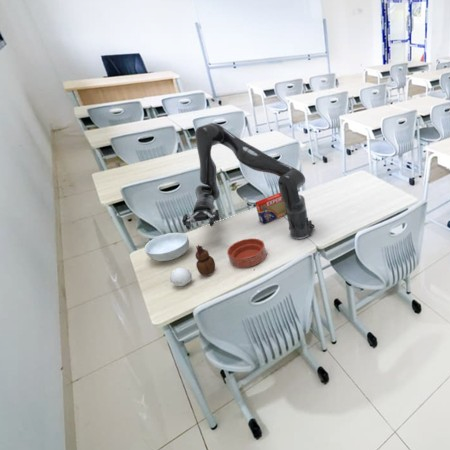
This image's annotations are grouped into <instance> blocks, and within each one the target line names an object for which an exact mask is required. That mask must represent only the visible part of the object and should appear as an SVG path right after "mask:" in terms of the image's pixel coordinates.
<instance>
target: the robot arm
mask: <svg viewBox="0 0 450 450" xmlns="http://www.w3.org/2000/svg"><path fill="white" fill-rule="evenodd" d="M194 137H195V144H196V148H197V154H198V155H197V156H198V159H199V160H198V161H199V182H200V183H201V184H199V185H198V186H196V188H195V190H194V191H195V193H194V194H195V197H196V202H195V204H194V207H193V211H192V213H191V214H188V213H185V214H184V215H183V218H182V219H181V222H182V224H183V226H185V227H186V229H187V230H191V228H192V225H194V224H197V223H199V222H203V221H208V222H209V226H210V227H213V226H214V224H215V222H216V221H218V222H219V221H220V219H221V218H220V217H221V214H220V210H219V209H214V208H215V207H214V203H215V201H216V200H218V199H219V197H220V189H219V185H218V183H217V182H218V181H217V173H218V171H217V169H218V168H217V165H216V163H215V161H214V160H213V158H212V148H213V146H215V145H218V144H220V145H223V146H224V147H226V148H228V149H229V150H230V151H232V153H233V155H234V156H235V158H236V159H237V160H238V162H240V163H241V164H242V165H244V166H246V167H247V168H248V169H251V170H253V171H257V172H261V173H267V174H272V175H275V176H278V181H277V184H278V185H277V186H278V190H279V193H281V197H282V200H283V202H284V203H285V207H286V213H287V215H286V217H287V224H288V230H289V233H290V238H292V239H294V240H304V239H306V238H308V237H310V236H312V234H311V230H312V231H313V230H314V229H315V227H316V226H315V224H313V223H312V222H313V221H312V220H309V217H308V212H307V204H306V199H305V197H304V196H303V195H301V194H299V190H300V189H301V188H302V187H303V186H304V185H305V184H306V177H305V175H304V173H303V172H301V171H300V170H299V169H297V168H295V167H293V166H290V165H288V164H286V163H284V162H282V161H279V160H278V159H277V158H274V157H273V156H271V155H269V154H267V153H265V152H264V151H262V150H260V149H259V148H257V147H255V146H253V145H251V144H249V142H246V141H244V140H243V139H241V138H239V137H238V136H237V135H234V134H233V133H232V132H230V131H229V130H228V129H226V128H224V126H222V125H220V124H218V123H216V122H209V123H206V124H203V125H200V126H198V127H197V128H196V129H195V132H194ZM214 210H215V211H214Z"/></svg>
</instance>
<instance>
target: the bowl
mask: <svg viewBox="0 0 450 450" xmlns="http://www.w3.org/2000/svg"><path fill="white" fill-rule="evenodd" d="M226 254H227V257H228V260H229V263H230V264H231V265H232V266H233V267H235V268H249V267H253V266H256V265H259V263H261V262H262V261H264V260H265V259H266V257H267V249H266V245H265V242H264V241H263V240H261V239H260V238H246V239H240V240H238V241H236V242H234V243H233V244H231V245H230V246H229V247H228V249H227V253H226Z"/></svg>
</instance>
